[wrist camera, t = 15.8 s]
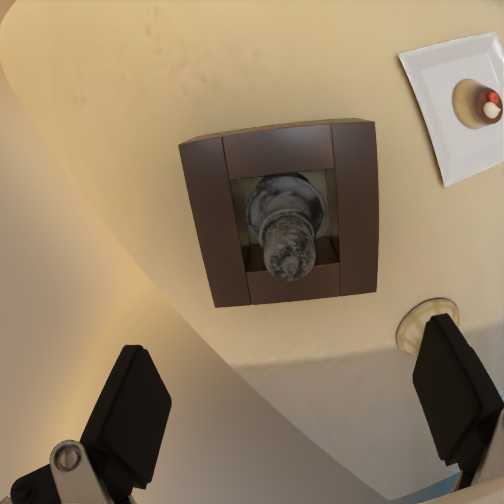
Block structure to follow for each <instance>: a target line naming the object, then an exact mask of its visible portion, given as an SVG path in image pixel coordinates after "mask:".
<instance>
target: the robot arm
mask: <svg viewBox="0 0 504 504" xmlns="http://www.w3.org/2000/svg"><path fill="white" fill-rule="evenodd" d="M413 384H414V387H415V389H416V392H417V395H418V397H419V400H420V403H421V405H422V408H423V411H424V414H425V416H426V419H427V422H428V425H429V428H430V431H431V434H432V437H433V440H434V443H435V446H436V449H437V452H438V455H439V458H440V459H441V460H445V464H446V466H449V465H452V464H455V463H458V466H459V469H460V472H459V474H458V477H457V479H456V481H455V483H454V485H453V487H452V489H451V491H450V493H449V494H447V495H445V496H442V497H439V498H436V499H432V500H429V501H426V502H422V503H419V504H504V402H503V400H502V398H501V396H500V394H499V393H498V391H497V389H496V387H495V385H494V383H493V382H492V380H491V378H490V376H489V375H488V373H487V371H486V369H485V368H484V366H483V364H482V363H481V361H480V359H479V358H478V356H477V354H476V353H475V351H474V350H473V348H472V347H470V346H469V345H468V343H467V341H466V340H465V338H464V337H463V335H462V333H461V332H460V330H459V329H458V327H457V326H456V324H455V323H454V321H453V320H452V318H451V317H450V315H449V314H448V313H444V314H439V315H434V316H431V318H430V320H429V321H427V322H426V324H425V329H424V333H423V337H422V341H421V346H420V350H419V353H418V357H417V361H416V365H415V368H414V372H413ZM171 405H172V402H171V397H170V395H169V393H168V391H167V389H166V387H165V385H164V383H163V381H162V379H161V377H160V375H159V373H158V371H157V369H156V367H155V365H154V363H153V361H152V359H151V357H150V354H149V352H148V351H147V350H146V349H144V348H143V347H142V346H141V345H125V346H124V347H123V349H122V351H121V353H120V355H119V357H118V359H117V361H116V363H115V365H114V367H113V369H112V371H111V373H110V375H109V377H108V379H107V381H106V383H105V386H104V388H103V390H102V392H101V394H100V396H99V398H98V400H97V403H96V405H95V407H94V409H93V411H92V413H91V416H90V418H89V420H88V423H87V425H86V427H85V429H84V432H83V434H82V436H81V439H80V442H77V441H74V440H66V441H62V442H61V443H59V444H57V446H55V447H54V449H53V450H52V452H51V455H50V464H48V465H46V466H44V467H42V468H40V469H38V470H35V471H34V472H31V473H29V474H27V475H25V476H23V477H21V478H19V479H17V480H16V481H15V482H14V484H13V485H12V488H11V493H10V495H11V498H9V497H8V496H7V497H5V498H4V499H3V500H2V501H1V502H0V504H136V502H135V500H134V499H133V497H132V495H131V493H132V489H133V487H135V488H140V489H146V486H147V483H150V482H151V481H152V477H153V473H154V469H155V465H156V462H157V458H158V454H159V450H160V446H161V442H162V439H163V435H164V431H165V427H166V424H167V420H168V416H169V413H170V409H171Z"/></svg>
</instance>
